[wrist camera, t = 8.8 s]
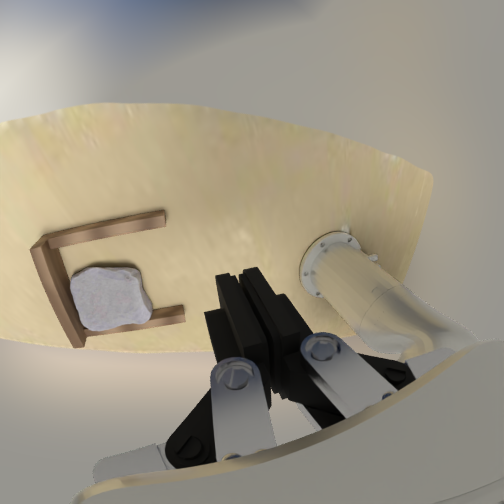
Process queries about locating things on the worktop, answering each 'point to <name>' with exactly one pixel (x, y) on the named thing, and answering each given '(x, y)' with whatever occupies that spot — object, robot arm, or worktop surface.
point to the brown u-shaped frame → (59, 284)
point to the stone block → (110, 297)
